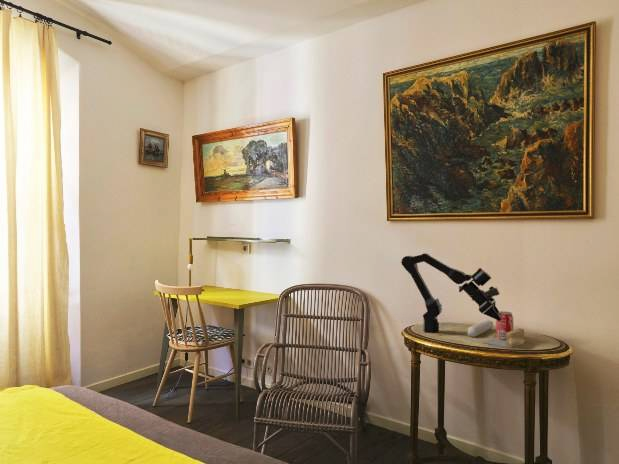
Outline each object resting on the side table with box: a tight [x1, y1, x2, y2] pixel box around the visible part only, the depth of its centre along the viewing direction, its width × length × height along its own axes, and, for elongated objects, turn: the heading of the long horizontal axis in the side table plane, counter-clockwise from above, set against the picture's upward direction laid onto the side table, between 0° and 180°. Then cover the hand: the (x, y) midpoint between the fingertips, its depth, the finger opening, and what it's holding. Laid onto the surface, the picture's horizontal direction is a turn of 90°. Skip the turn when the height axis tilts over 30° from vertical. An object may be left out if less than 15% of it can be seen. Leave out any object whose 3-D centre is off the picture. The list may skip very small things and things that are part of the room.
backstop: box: [505, 328, 525, 349], centre depth 186 cm, size 2×14×6 cm, turn 134°
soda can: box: [495, 310, 514, 341], centre depth 198 cm, size 7×7×12 cm
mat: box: [482, 338, 507, 348], centre depth 189 cm, size 10×10×1 cm
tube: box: [467, 318, 494, 338], centre depth 210 cm, size 5×5×25 cm
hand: (501, 318), depth 198 cm, fingers open, 9 cm apart
